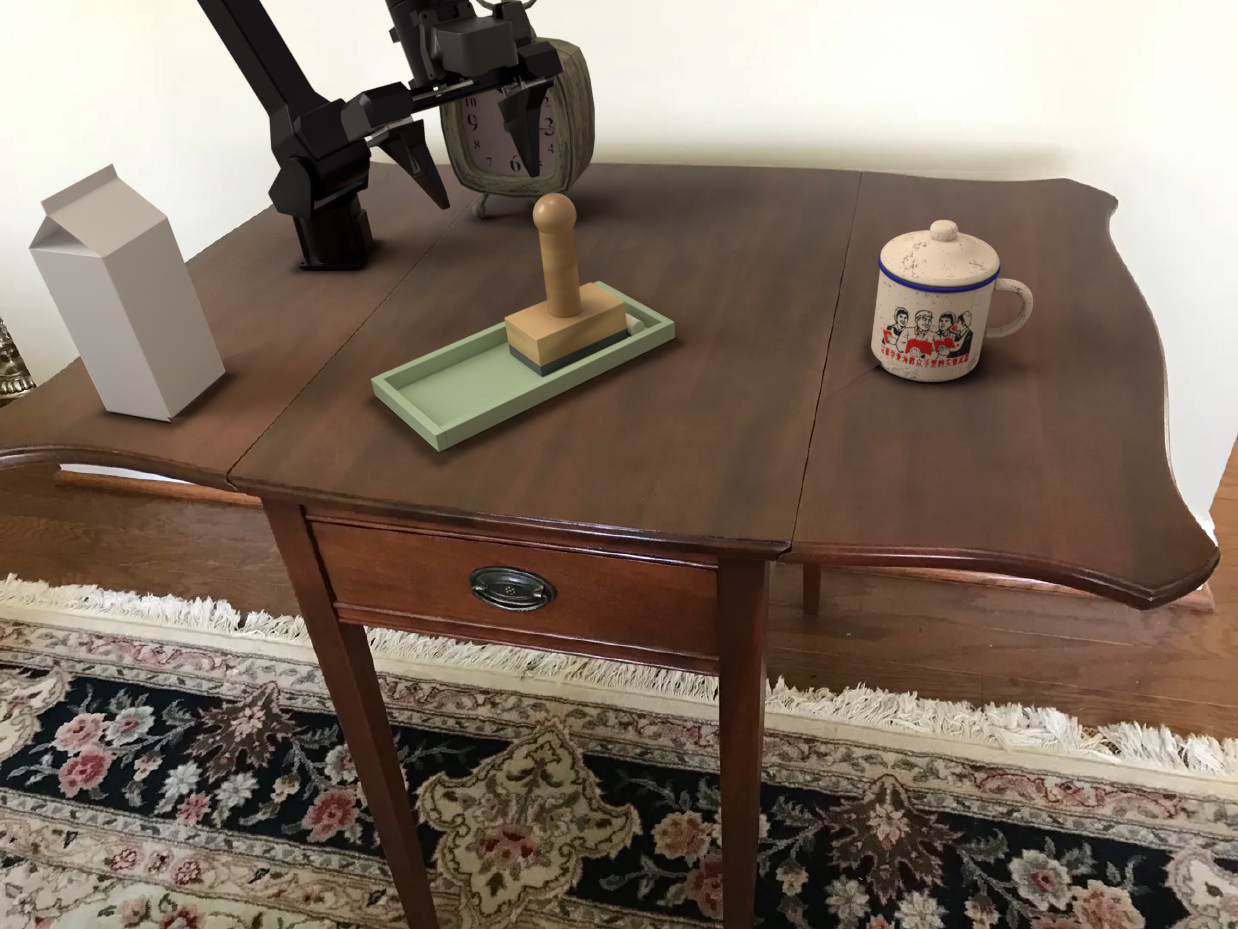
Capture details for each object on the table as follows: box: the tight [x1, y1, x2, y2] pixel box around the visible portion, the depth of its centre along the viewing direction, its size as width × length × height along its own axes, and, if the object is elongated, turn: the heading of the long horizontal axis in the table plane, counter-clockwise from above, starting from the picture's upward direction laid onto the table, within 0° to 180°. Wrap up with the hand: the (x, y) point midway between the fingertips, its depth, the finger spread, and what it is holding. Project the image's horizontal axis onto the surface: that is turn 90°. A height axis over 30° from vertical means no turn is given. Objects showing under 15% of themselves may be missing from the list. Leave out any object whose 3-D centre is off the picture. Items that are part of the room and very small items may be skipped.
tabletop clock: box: [437, 0, 596, 220], centre depth 100 cm, size 14×9×25 cm, turn 73°
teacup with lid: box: [870, 219, 1034, 383], centre depth 76 cm, size 12×9×12 cm
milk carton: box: [28, 163, 226, 423], centre depth 76 cm, size 7×7×19 cm
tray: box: [370, 280, 676, 453], centre depth 81 cm, size 24×11×2 cm, turn 128°
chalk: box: [626, 313, 645, 336], centre depth 85 cm, size 6×2×2 cm
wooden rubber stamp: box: [504, 193, 627, 377], centre depth 79 cm, size 9×5×14 cm, turn 127°
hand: (492, 192), depth 82 cm, fingers open, 9 cm apart
